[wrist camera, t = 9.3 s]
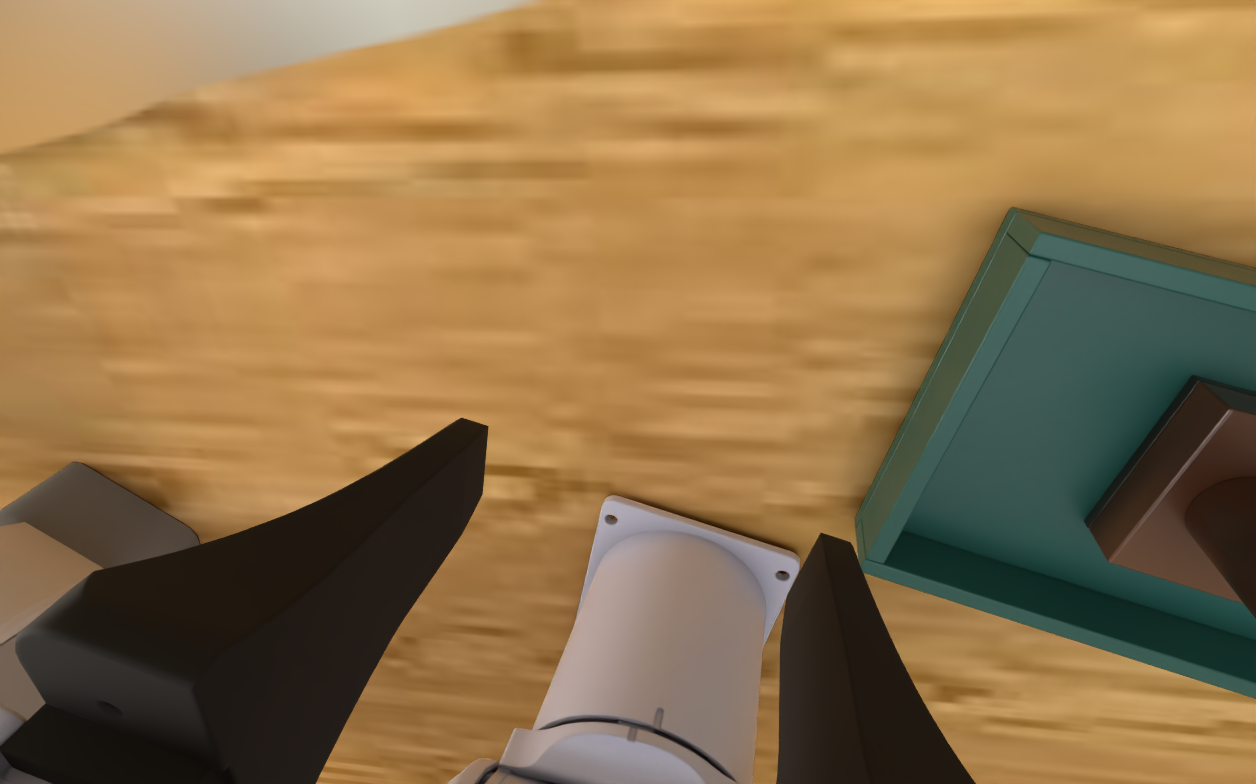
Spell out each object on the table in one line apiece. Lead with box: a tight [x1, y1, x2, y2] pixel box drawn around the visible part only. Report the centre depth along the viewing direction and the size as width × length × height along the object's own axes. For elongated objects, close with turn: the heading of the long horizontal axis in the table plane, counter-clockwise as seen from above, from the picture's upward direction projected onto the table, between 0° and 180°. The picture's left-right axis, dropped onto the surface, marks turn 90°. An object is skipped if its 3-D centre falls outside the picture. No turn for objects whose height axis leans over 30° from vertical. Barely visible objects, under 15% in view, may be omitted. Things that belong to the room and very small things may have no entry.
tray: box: [855, 207, 1256, 699], centre depth 19 cm, size 12×17×3 cm
